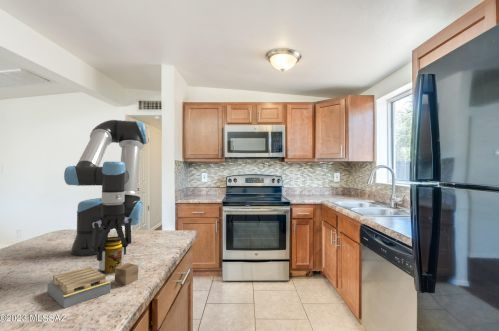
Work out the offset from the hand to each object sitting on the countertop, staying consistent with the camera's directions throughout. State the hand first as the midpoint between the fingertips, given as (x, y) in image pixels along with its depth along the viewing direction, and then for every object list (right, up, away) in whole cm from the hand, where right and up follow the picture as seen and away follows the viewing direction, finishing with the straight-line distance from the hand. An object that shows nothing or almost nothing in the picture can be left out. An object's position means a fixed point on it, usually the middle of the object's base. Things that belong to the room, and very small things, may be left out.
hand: (111, 266), depth 96 cm
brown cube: (+10, -2, -9) cm, 13 cm away
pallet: (-1, +2, -17) cm, 17 cm away
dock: (-1, -1, -17) cm, 17 cm away
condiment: (0, -2, 0) cm, 2 cm away
